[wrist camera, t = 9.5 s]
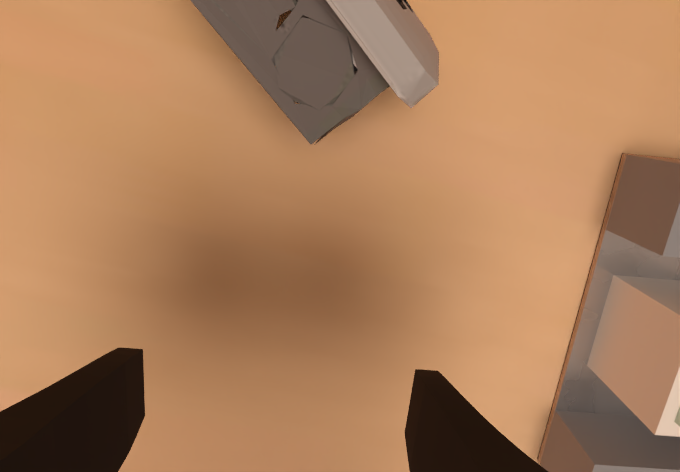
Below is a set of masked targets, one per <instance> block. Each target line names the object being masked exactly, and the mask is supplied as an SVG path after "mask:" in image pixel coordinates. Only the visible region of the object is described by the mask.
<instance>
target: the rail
mask: <svg viewBox="0 0 680 472" xmlns="http://www.w3.org/2000/svg"><path fill="white" fill-rule="evenodd" d="M630 155H633V154H630ZM626 156H627V154H622V158H621V161H620V165H619V168H618V172H617V176H616V179H615V183H614V186H613V190H612V194H611V197H610V201H609V204H608V208H607V212H606V215H605V219H604V222H603V226H602V230H601V233H600V237H599V240H598V244H597V248H596V251H595V255H594V258H593V262H592V266H591V269H590V273H589V277H588V280H587V284H586V287H585V291H584V295H583V298H582V302H581V305H580V309H579V313H578V316H577V320H576V323H575V327H574V331H573V334H572V338H571V341H570V345H569V349H568V352H567V356H566V359H565V363H564V367H563V370H562V374H561V377H560V381H559V385H558V388H557V392H556V395H555V399H554V403H553V406H552V410H551V413H550V417H549V421H548V424H547V428H546V431H545V435H544V439H543V442H542V446H541V449H540V453H539V457H538V461H539V462H541V459H542V455H543V452H544V448H545V444H546V441H547V437H548V434H549V430H550V427H551V423H552V420H553V416H554V412H555V410H559V411H573V412H588V413H602V414H616V415H631V416H636V415H635V414H634V413H633V412H632V411H631V410H630V409H629V408H628V407H627V406H626V405H625V404H624V403H623V402H622V401H621V400H620V399H619V398H618V397H617V396H616V395H615V394H614V393H613V392H612V391H611V390H610V388H609V387H608V386H607V385H606V384H605V383H604V382H603V381H602V380H601V379H600V378H599V377H598V376H597V375H596V374H595V373H594V372H593V371H592V370H591V369H590V368H589V367H588V366H587V363H588V360H589V356H590V353H591V350H592V346H593V343H594V339H595V336H596V333H597V329H598V326H599V322H600V319H601V315H602V312H603V309H604V305H605V302H606V298H607V295H608V292H609V288H610V285H611V281H612V278H613V275H621V276H633V277H645V278H656V279H668V280H680V258H678V257H667V256H661V255H659V254H657V253H655V252H652V251H650V250H648V249H646V248H644V247H642V246H640V245H637V244H635V243H633V242H631V241H629V240H627V239H625V238H622V237H620V236H618V235H616V234H614V233H612V232H610V231H607V230H606V227H607V223H608V220H609V216H610V213H611V209H612V206H613V202H614V198H615V195H616V191H617V188H618V184H619V181H620V177H621V174H622V170H623V166H624V163H625V159H626ZM640 156H643V155H640ZM649 157H653V156H649ZM659 158H663V157H659ZM669 159H673V158H669ZM679 160H680V159H679Z"/></svg>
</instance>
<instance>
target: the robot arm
mask: <svg viewBox="0 0 680 472" xmlns="http://www.w3.org/2000/svg"><path fill="white" fill-rule="evenodd" d="M144 416H145V404H144V373H143V349H131V348H117V349H115V350H113V351H111V352H109V353H107V354H105V355H104V356H102V357H100V358H98V359H96V360H95V361H93V362H91V363H89V364H88V365H86V366H84V367H82V368H81V369H79V370H77V371H75V372H74V373H72V374H70V375H68V376H67V377H65V378H63V379H61V380H60V381H58V382H56V383H54V384H52V385H51V386H49V387H47V388H45V389H43V390H41V391H39V392H37V393H36V394H34V395H32V396H30V397H28V398H26V399H24V400H22V401H20V402H18V403H16V404H14V405H12V406H10V407H9V408H7V409H5V410H3V411H1V412H0V472H118V471H119V469H120V467H121V465H122V464H123V462H124V460H125V459H126V457H127V455H128V453H129V451H130V449H131V447H132V445H133V442H134V440H135V438H136V436H137V433H138V431H139V428H140V426H141V424H142V421H143V419H144ZM405 439H406V447H407V455H408V462H409V469H410V472H548V471H547V470H546V469H544V468H543V467H542V466H540V465H539V464H538V463H536V462H535V461H534V460H532V459H531V458H530V457H528V456H527V455H526V454H525V453H524V452H522V451H521V450H520V449H519V448H517V447H516V446H515V445H514V444H513V443H512V442H511V441H509V440H508V439H507V438H506V437H505V436H504V435H503V434H501V433H500V432H499V431H498V430H497V429H496V428H495V427H494V426H493V425H491V424H490V423H489V422H488V421H487V420H486V419H485V418H484V417H483V416H482V415H481V414H480V413H479V412H478V411H477V410H476V409H475V408H474V407H473V406H472V405H471V404H470V403H469V402H468V401H467V400H466V399H465V398H464V397H463V396H462V395H461V394H460V393H459V392H458V391H457V390H456V389H455V388H454V387H453V386H452V385H451V384H450V383H449V381H448V380H447V379H446V378H445V377H444V376H443V375H442V374H441V373H439V372H438V371H431V370H417V369H415V375H414V381H413V387H412V393H411V399H410V405H409V411H408V417H407V422H406V428H405Z"/></svg>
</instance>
